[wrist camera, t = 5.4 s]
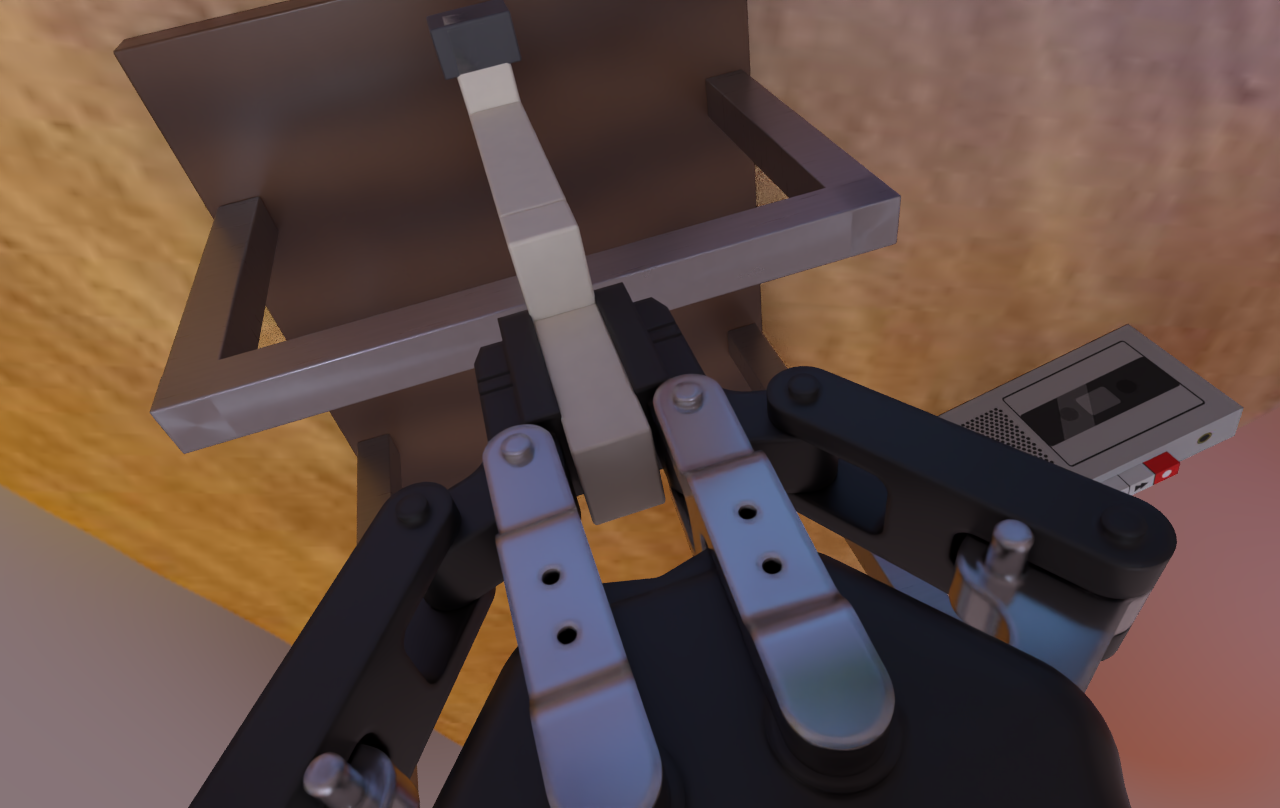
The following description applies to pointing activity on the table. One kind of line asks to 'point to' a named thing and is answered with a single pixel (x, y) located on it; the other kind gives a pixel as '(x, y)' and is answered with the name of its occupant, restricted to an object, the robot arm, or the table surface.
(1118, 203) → the table surface
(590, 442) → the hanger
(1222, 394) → the cassette player
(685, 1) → the rack
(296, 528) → the table surface
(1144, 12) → the table surface
